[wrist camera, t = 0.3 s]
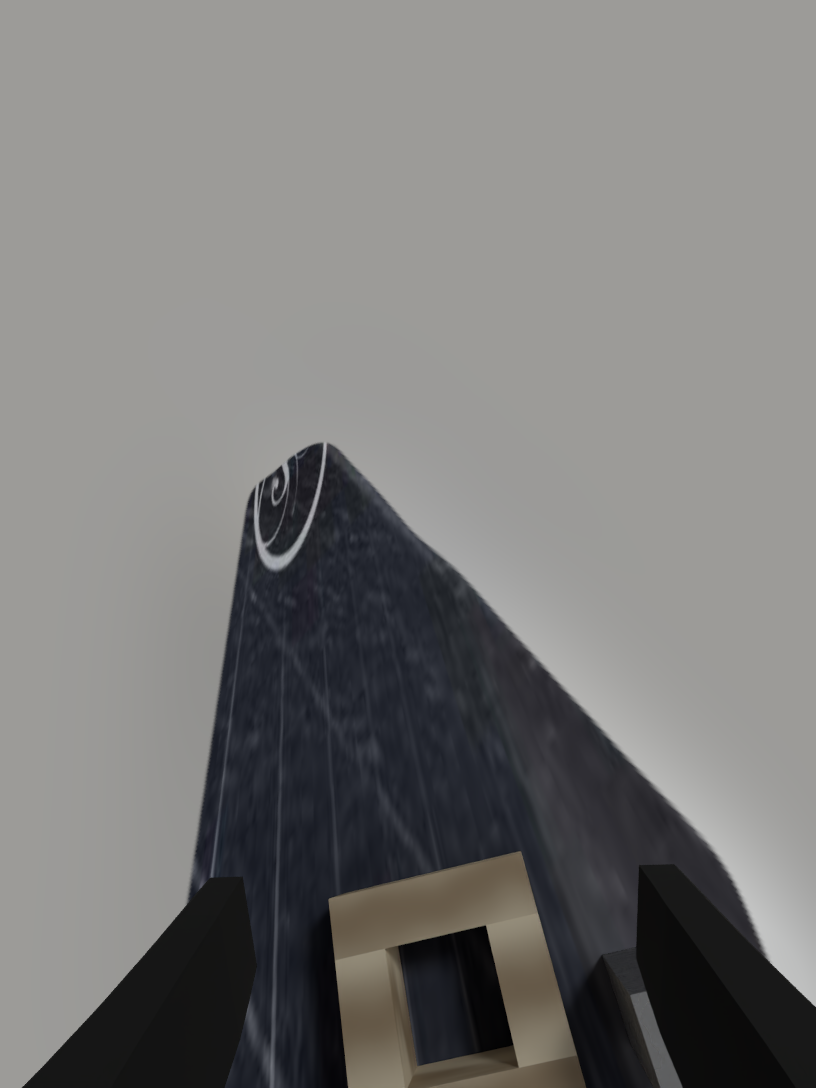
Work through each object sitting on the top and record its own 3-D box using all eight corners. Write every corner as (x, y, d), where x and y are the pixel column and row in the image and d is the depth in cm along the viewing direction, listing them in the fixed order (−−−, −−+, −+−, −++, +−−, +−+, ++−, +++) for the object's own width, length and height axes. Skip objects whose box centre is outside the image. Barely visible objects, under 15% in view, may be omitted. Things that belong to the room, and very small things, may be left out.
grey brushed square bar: (702, 1029, 28) (771, 1101, 21) (630, 1044, 29) (671, 1122, 21) (669, 939, 30) (720, 974, 23) (602, 954, 31) (629, 995, 23)
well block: (591, 1106, 28) (599, 1139, 25) (376, 1152, 28) (358, 1189, 25) (520, 850, 34) (520, 852, 31) (345, 893, 35) (328, 898, 32)
